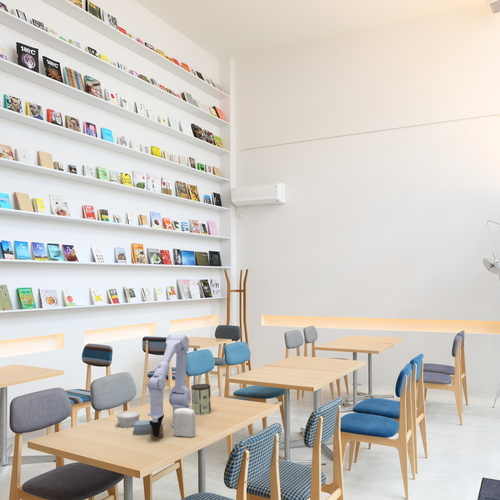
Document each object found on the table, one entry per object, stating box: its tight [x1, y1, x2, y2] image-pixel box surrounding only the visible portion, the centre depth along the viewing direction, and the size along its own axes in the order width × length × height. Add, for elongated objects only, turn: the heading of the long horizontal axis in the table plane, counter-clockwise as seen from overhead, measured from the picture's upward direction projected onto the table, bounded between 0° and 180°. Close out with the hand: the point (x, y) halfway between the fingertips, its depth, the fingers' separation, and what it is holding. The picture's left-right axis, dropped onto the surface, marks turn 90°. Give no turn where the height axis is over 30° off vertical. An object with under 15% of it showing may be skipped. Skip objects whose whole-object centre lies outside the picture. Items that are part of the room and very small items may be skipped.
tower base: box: [132, 428, 151, 436], centre depth 224 cm, size 8×8×2 cm
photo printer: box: [173, 408, 196, 438], centre depth 218 cm, size 10×4×12 cm, turn 72°
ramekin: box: [116, 410, 141, 428], centre depth 238 cm, size 11×11×5 cm
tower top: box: [133, 419, 152, 431], centre depth 225 cm, size 7×7×2 cm
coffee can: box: [190, 383, 212, 416], centre depth 257 cm, size 10×10×14 cm
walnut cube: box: [150, 423, 164, 440], centre depth 216 cm, size 5×5×5 cm
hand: (157, 434), depth 216 cm, fingers open, 7 cm apart
